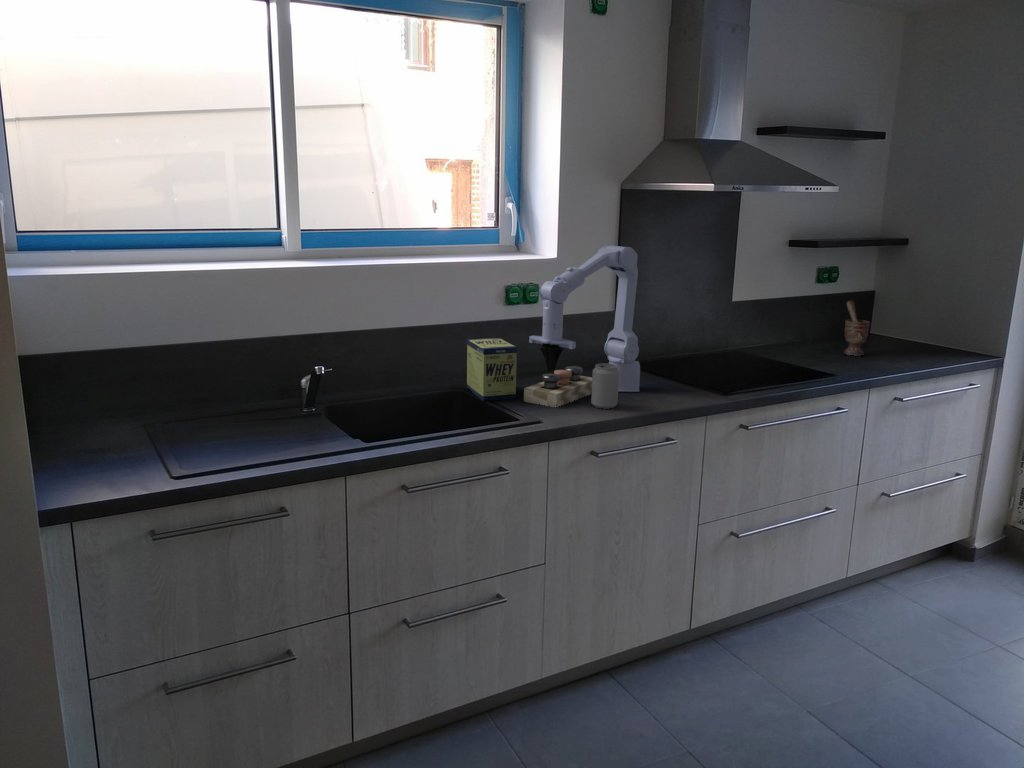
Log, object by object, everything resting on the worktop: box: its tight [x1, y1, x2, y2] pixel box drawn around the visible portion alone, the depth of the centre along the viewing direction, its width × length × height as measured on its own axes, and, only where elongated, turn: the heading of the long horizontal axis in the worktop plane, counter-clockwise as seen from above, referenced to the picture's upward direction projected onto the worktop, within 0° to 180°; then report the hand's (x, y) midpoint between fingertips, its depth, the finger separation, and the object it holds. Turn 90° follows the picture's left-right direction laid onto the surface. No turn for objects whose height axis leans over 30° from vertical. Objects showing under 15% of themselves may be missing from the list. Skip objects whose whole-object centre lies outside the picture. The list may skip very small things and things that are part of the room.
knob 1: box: [541, 373, 560, 390], centre depth 239 cm, size 5×5×4 cm
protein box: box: [466, 337, 518, 402], centre depth 245 cm, size 10×16×16 cm
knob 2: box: [564, 365, 584, 382], centre depth 249 cm, size 5×5×4 cm
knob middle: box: [553, 369, 572, 386], centre depth 244 cm, size 5×5×4 cm
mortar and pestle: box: [843, 300, 871, 357], centre depth 313 cm, size 12×9×20 cm
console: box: [523, 375, 592, 409], centre depth 244 cm, size 24×11×4 cm, turn 145°
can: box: [590, 362, 619, 410], centre depth 234 cm, size 8×8×12 cm
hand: (551, 370), depth 238 cm, fingers closed
